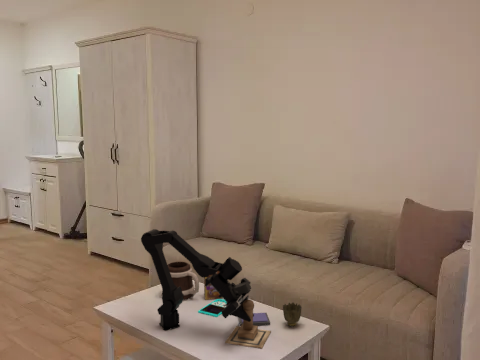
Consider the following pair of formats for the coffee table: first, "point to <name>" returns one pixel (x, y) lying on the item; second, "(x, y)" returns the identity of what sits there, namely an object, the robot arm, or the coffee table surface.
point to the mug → (184, 278)
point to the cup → (292, 313)
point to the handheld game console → (214, 308)
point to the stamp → (248, 323)
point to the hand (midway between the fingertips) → (251, 318)
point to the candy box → (210, 291)
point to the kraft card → (257, 342)
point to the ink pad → (258, 319)
